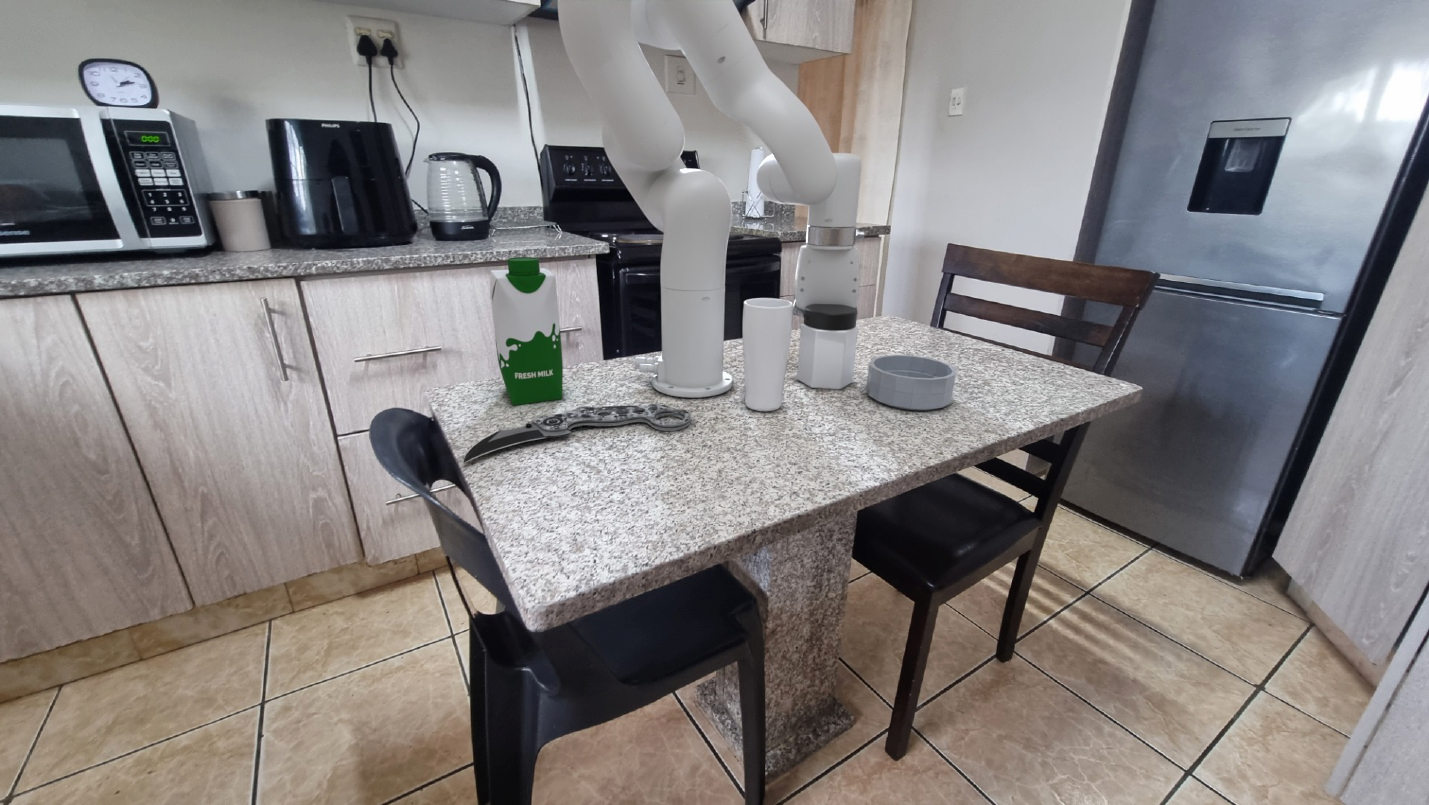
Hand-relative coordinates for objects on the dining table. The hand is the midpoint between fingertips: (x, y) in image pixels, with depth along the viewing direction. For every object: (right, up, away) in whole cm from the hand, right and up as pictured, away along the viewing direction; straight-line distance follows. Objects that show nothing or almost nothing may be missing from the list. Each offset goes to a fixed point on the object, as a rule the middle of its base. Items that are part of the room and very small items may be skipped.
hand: (821, 349), depth 98 cm
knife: (-35, -13, -25) cm, 45 cm away
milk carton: (-45, -8, -12) cm, 47 cm away
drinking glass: (-11, -10, -15) cm, 21 cm away
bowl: (+11, -8, -10) cm, 17 cm away
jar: (0, -6, -4) cm, 7 cm away
